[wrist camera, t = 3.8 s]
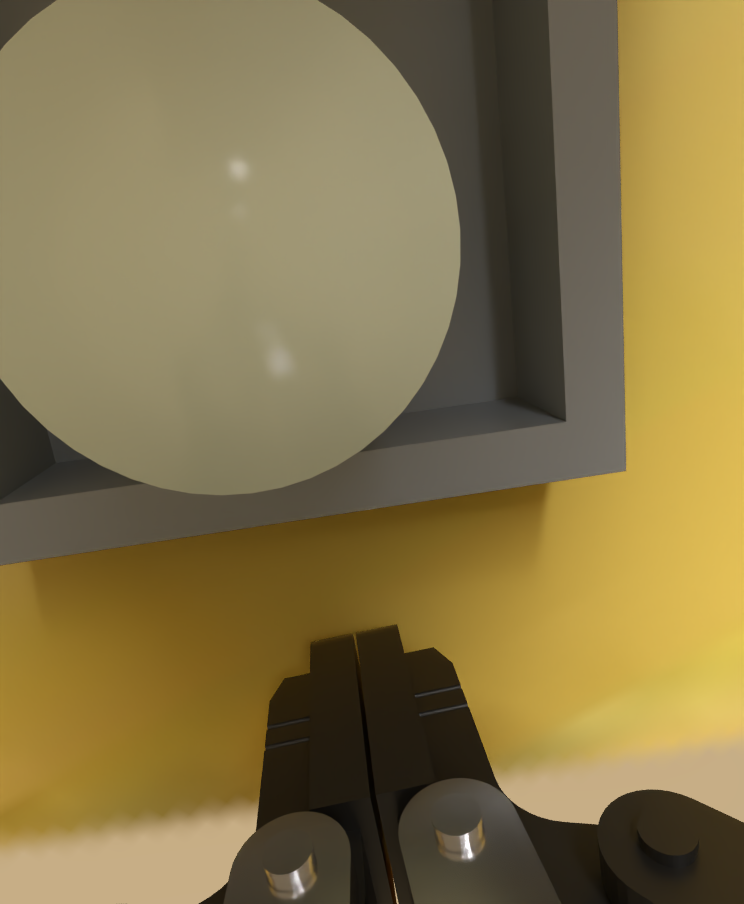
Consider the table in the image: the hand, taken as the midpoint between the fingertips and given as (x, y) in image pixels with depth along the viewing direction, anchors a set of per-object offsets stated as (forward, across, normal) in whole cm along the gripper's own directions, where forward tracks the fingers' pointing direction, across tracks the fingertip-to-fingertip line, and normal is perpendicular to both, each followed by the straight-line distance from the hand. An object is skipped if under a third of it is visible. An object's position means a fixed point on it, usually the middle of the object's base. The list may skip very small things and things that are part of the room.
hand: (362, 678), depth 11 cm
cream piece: (0, 0, -7) cm, 7 cm away
